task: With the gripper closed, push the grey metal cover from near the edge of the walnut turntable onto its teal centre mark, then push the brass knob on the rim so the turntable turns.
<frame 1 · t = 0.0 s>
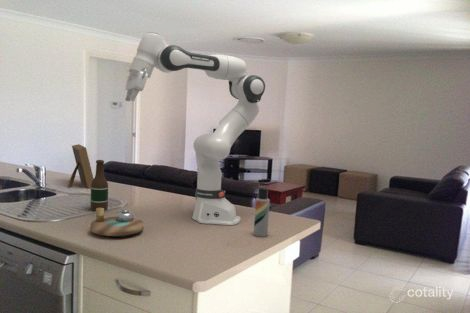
hand: (129, 100, 161), 52 cm above the worktop, tool tilted 20°, fingers open, 8 cm apart
lotion bottle: (260, 235, 161), on the worktop
photo frame: (79, 186, 243), on the worktop
turntable base: (117, 231, 155), on the worktop
beer bottle: (99, 210, 187), on the worktop
cover: (124, 219, 160), point 4 cm above the worktop, touching turntable
turntable: (117, 219, 154), point 5 cm above the worktop, hinge at 0.0°, touching cover
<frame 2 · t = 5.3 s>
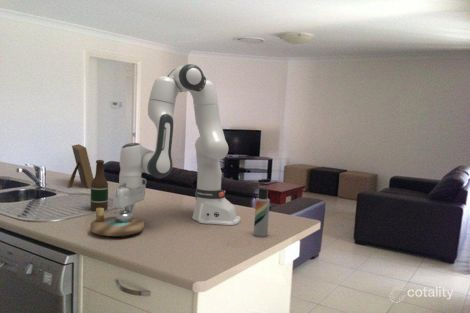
hand: (129, 214, 163), 5 cm above the worktop, tool pointing down, fingers closed
cover: (123, 220, 159), point 4 cm above the worktop, touching gripper, turntable
everything else where it was.
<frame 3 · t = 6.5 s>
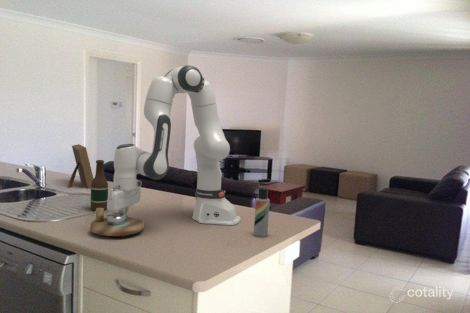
hand: (123, 217, 159), 5 cm above the worktop, tool pointing down, fingers closed
cover: (116, 223, 154), point 4 cm above the worktop, touching gripper, turntable
turntable: (117, 219, 154), point 5 cm above the worktop, hinge at 0.4°, touching cover
everything else where it was.
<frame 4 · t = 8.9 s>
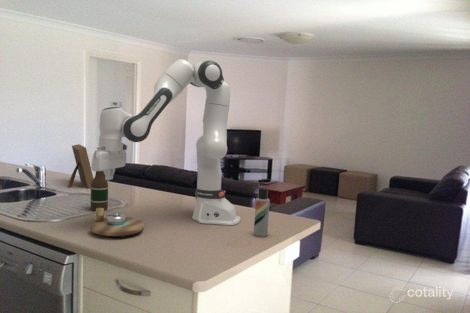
hand: (109, 179, 162), 19 cm above the worktop, tool pointing down, fingers closed
cover: (115, 223, 154), point 4 cm above the worktop, touching turntable
everything else where it was.
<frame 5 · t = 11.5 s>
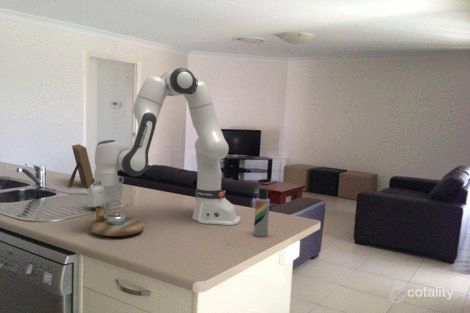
hand: (104, 213, 159), 6 cm above the worktop, tool pointing down, fingers closed
turntable: (117, 219, 154), point 5 cm above the worktop, hinge at 0.4°, touching cover, gripper
everything else where it was.
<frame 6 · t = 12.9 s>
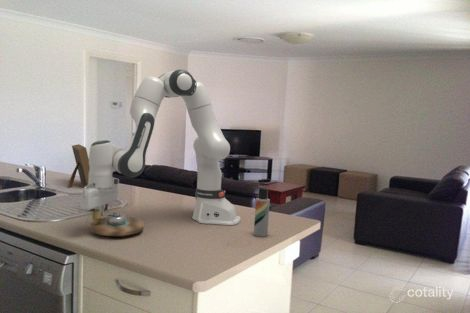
hand: (99, 216, 155), 6 cm above the worktop, tool pointing down, fingers closed
turntable: (117, 219, 154), point 5 cm above the worktop, hinge at 32.8°, touching cover, gripper
everything else where it was.
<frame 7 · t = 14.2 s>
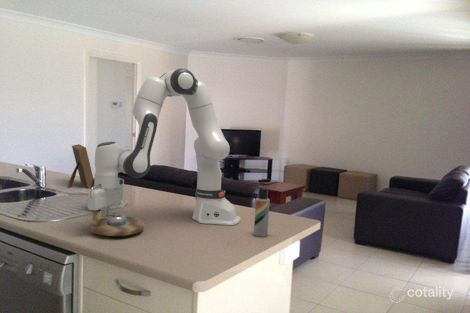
hand: (105, 216, 157), 5 cm above the worktop, tool pointing down, fingers closed
turntable: (117, 219, 154), point 5 cm above the worktop, hinge at 42.4°, touching cover
everything else where it was.
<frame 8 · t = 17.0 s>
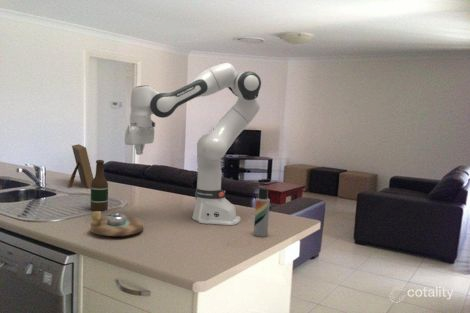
hand: (139, 154, 172), 29 cm above the worktop, tool pointing down, fingers closed
nothing on the worktop moved.
at the end: cover 0.7 cm from the turntable (horizontally); turntable at +42° (first picture: +0°); cover point 3.5 cm above the worktop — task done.
